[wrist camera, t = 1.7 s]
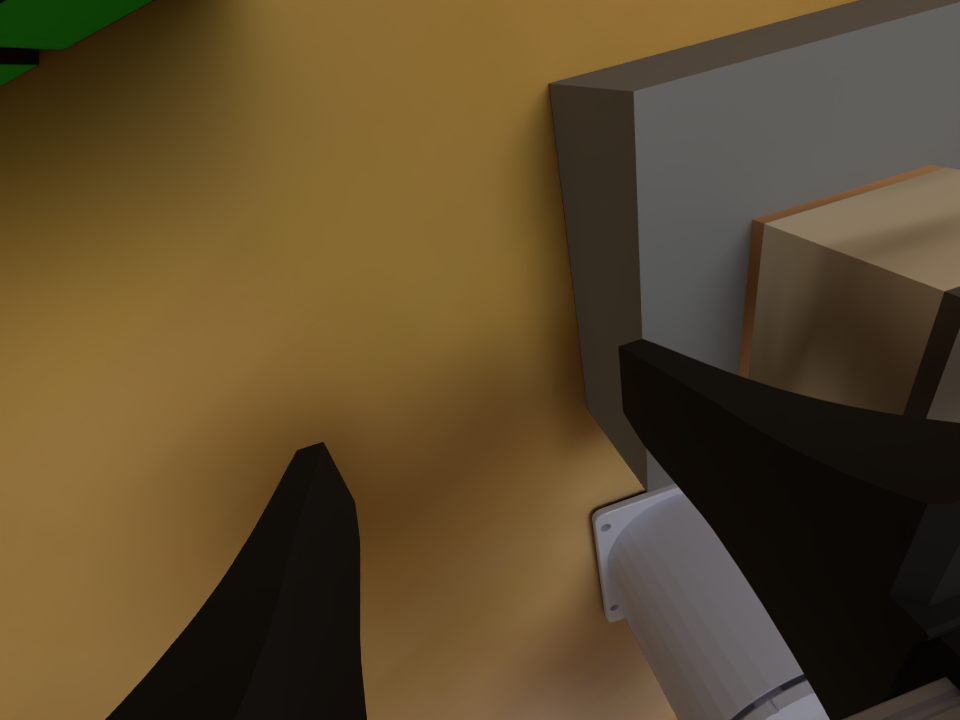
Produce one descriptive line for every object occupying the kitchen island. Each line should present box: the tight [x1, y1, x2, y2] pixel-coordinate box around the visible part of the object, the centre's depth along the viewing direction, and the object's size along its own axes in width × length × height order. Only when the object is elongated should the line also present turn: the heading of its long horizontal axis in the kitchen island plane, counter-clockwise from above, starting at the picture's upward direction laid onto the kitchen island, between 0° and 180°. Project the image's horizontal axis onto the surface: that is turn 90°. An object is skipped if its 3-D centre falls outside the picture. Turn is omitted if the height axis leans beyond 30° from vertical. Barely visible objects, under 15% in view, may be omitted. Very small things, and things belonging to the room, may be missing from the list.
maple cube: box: [738, 165, 960, 423], centre depth 12 cm, size 5×5×5 cm
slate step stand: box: [549, 0, 960, 493], centre depth 16 cm, size 12×16×5 cm
